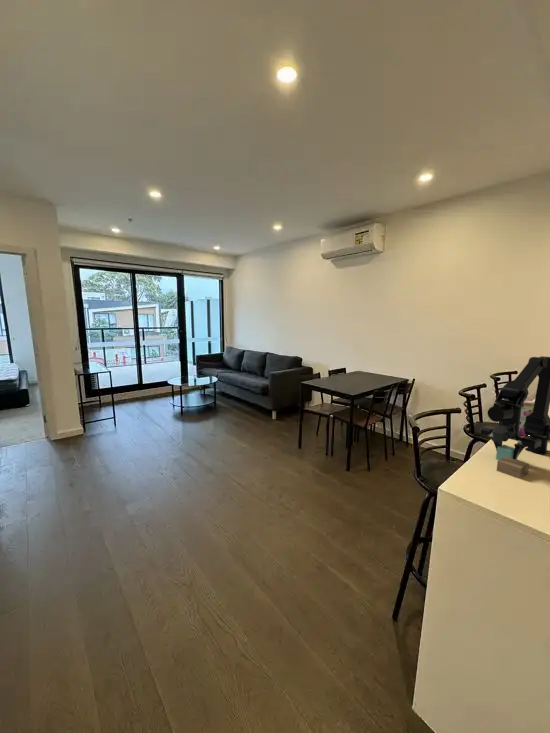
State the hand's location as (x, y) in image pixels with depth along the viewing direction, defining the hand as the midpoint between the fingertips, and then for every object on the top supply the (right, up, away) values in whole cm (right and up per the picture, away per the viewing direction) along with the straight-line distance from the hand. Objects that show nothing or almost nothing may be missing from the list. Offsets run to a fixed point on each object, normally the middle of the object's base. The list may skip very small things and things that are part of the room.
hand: (506, 457), depth 124 cm
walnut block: (-6, -3, -10) cm, 12 cm away
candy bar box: (+31, +2, +30) cm, 43 cm away
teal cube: (0, -1, 0) cm, 1 cm away
